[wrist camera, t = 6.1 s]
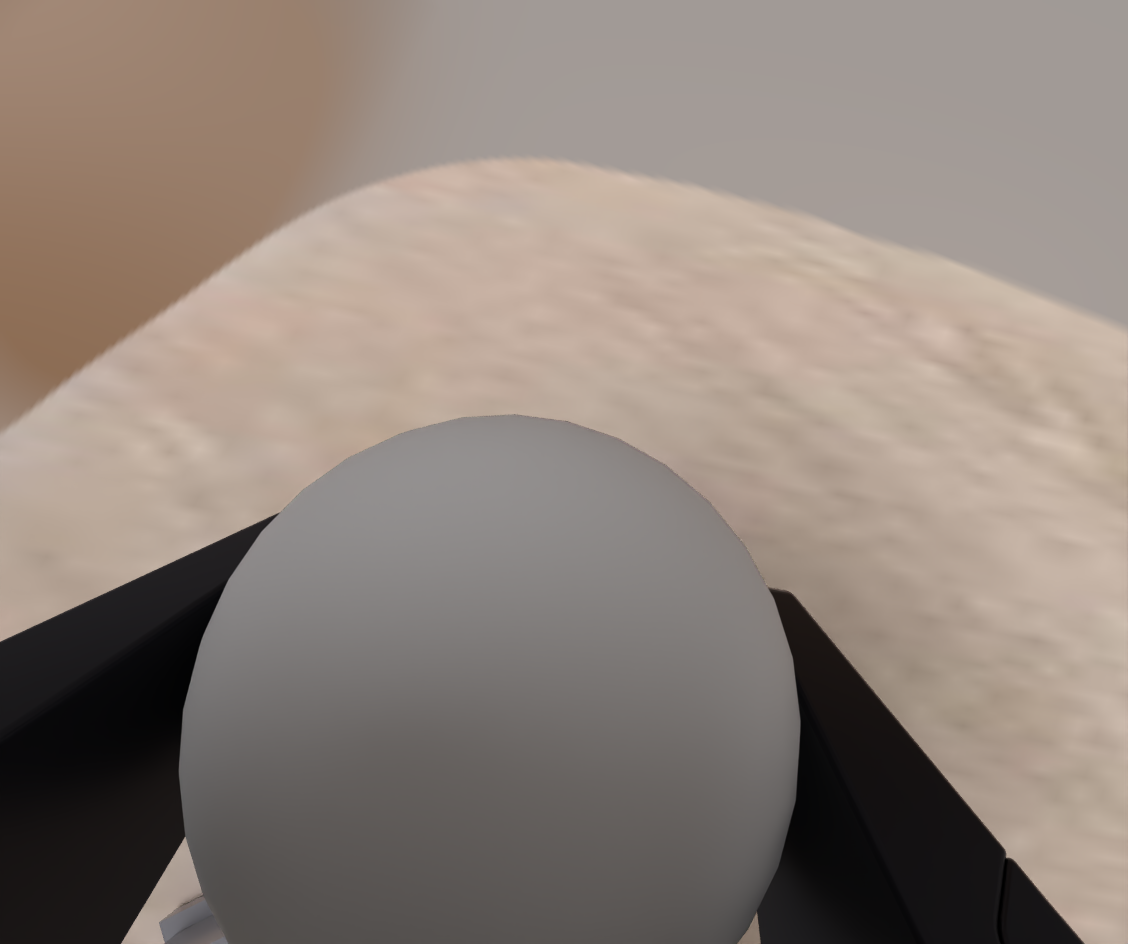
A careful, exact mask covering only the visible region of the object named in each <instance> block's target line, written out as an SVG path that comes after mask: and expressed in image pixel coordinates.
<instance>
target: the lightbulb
mask: <svg viewBox="0 0 1128 944" xmlns="http://www.w3.org/2000/svg"><path fill="white" fill-rule="evenodd" d="M799 742H800V713H799V705H798V696H797V688H796V680H795V672H794V664H793V657H792V654H791V651H790V648H789V645H788V641H787V638H786V635H785V632H784V629H783V626H782V623H781V619H780V616H779V613H778V610H777V607H776V604H775V600H774V598H773V596H772V594H771V593H770V591H769V589H768V587H767V585H766V583H765V581H764V580H763V578H762V576H761V574H760V572H759V570H758V568H757V567H756V565H755V563H754V561H753V559H752V557H751V555H750V554H749V552H748V550H747V548H746V546H745V545H744V544H743V543H742V541H741V540H740V539H739V538H738V536H737V535H736V534H735V533H734V532H733V530H732V529H731V528H730V527H729V525H728V524H727V523H726V522H725V520H724V519H723V518H722V517H721V515H720V514H719V513H718V512H717V510H716V509H715V508H714V507H713V506H712V504H711V503H710V502H709V501H708V500H707V499H706V498H704V497H703V496H702V495H701V494H700V493H698V492H697V491H696V490H695V489H694V488H693V487H691V486H690V485H689V484H688V483H687V482H685V481H684V480H683V479H682V478H681V477H680V476H678V475H677V474H676V473H675V472H674V471H672V470H671V469H670V468H669V467H668V466H667V465H665V464H663V463H661V462H660V461H658V460H656V459H654V458H652V457H651V456H649V455H647V454H645V453H644V452H642V451H640V450H638V449H636V448H635V447H633V446H631V445H629V444H628V443H626V442H624V441H622V440H620V439H619V438H616V437H613V436H610V435H607V434H604V433H601V432H598V431H595V430H592V429H589V428H586V427H583V426H580V425H577V424H574V423H571V422H568V421H561V420H553V419H545V418H538V417H530V416H522V415H515V414H514V415H497V416H480V417H463V418H458V419H454V420H450V421H446V422H442V423H438V424H434V425H430V426H426V427H422V428H418V429H414V430H410V431H407V432H404V433H401V434H398V435H396V436H394V437H392V438H390V439H388V440H385V441H383V442H381V443H379V444H377V445H375V446H372V447H370V448H368V449H366V450H364V451H362V452H359V453H357V454H355V455H353V456H351V457H349V458H347V459H346V460H344V461H343V462H342V463H340V464H339V465H337V466H336V467H334V468H333V469H332V470H330V471H329V472H327V473H326V474H325V475H323V476H322V477H320V478H319V479H317V480H316V481H315V482H313V483H312V484H310V485H309V486H308V487H306V488H305V489H303V490H302V491H301V492H300V493H299V494H298V495H297V496H296V497H295V498H294V499H293V500H292V501H291V502H290V503H289V504H288V505H287V506H286V507H285V508H284V509H283V510H282V511H281V512H280V513H279V514H278V515H277V516H276V517H275V518H274V520H273V521H272V522H271V523H270V524H269V525H268V526H267V527H266V528H265V529H264V530H263V531H262V532H261V533H260V535H259V536H258V538H257V539H256V541H255V542H254V543H253V545H252V546H251V548H250V549H249V551H248V552H247V554H246V555H245V557H244V558H243V560H242V561H241V562H240V564H239V565H238V567H237V568H236V570H235V571H234V573H233V574H232V576H231V577H230V578H229V580H228V582H227V584H226V586H225V588H224V591H223V593H222V595H221V597H220V599H219V602H218V604H217V606H216V608H215V610H214V613H213V615H212V617H211V619H210V622H209V624H208V626H207V628H206V630H205V633H204V635H203V637H202V641H201V644H200V647H199V650H198V654H197V658H196V662H195V666H194V670H193V674H192V678H191V681H190V685H189V689H188V693H187V697H186V701H185V705H184V709H183V720H182V733H181V747H180V760H179V781H180V790H181V799H182V809H183V818H184V828H185V836H186V839H187V843H188V846H189V849H190V853H191V856H192V859H193V863H194V866H195V869H196V873H197V876H198V879H199V883H200V886H201V889H202V893H203V896H204V898H205V900H206V902H207V904H208V906H209V908H210V910H211V912H212V914H213V915H214V917H215V919H216V921H217V923H218V925H219V927H220V929H221V931H222V932H223V934H224V936H225V938H226V940H227V942H228V944H737V943H738V942H739V940H740V939H741V938H742V936H743V935H744V934H745V932H746V931H747V930H748V928H749V926H750V924H751V922H752V920H753V918H754V916H755V914H756V912H757V910H758V908H759V906H760V904H761V901H762V899H763V897H764V895H765V893H766V891H767V889H768V887H769V885H770V883H771V881H772V879H773V877H774V875H775V873H776V871H777V868H778V866H779V862H780V859H781V855H782V851H783V847H784V843H785V839H786V836H787V832H788V828H789V824H790V820H791V816H792V813H793V809H794V805H795V801H796V788H797V773H798V758H799Z"/></svg>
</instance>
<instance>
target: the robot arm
mask: <svg viewBox="0 0 1128 944" xmlns="http://www.w3.org/2000/svg"><path fill="white" fill-rule="evenodd" d="M278 514H279V513H278ZM278 514H275V515H273V516H271V517H269V518H267V519H265V520H262V521H260V522H258V523H256V524H254V525H252V526H249V527H247V528H245V529H243V530H241V531H239V532H236V533H234V534H232V535H230V536H228V537H226V538H224V539H221V540H219V541H217V542H215V543H213V544H211V545H208V546H206V547H204V548H202V549H200V550H198V551H195V552H193V553H191V554H189V555H187V556H185V557H183V558H180V559H178V560H176V561H174V562H172V563H170V564H167V565H165V566H163V567H161V568H159V569H157V570H154V571H152V572H150V573H148V574H146V575H144V576H141V577H139V578H137V579H135V580H133V581H131V582H129V583H126V584H124V585H122V586H120V587H118V588H116V589H113V590H111V591H109V592H107V593H105V594H103V595H100V596H98V597H96V598H94V599H92V600H90V601H87V602H85V603H83V604H81V605H79V606H77V607H74V608H72V609H70V610H68V611H66V612H64V613H61V614H59V615H57V616H55V617H53V618H51V619H48V620H46V621H44V622H42V623H40V624H38V625H36V626H33V627H31V628H29V629H27V630H25V631H23V632H20V633H18V634H16V635H14V636H12V637H10V638H7V639H5V640H3V641H1V642H0V944H121V943H122V941H123V939H124V938H125V936H126V934H127V933H128V931H129V929H130V928H131V926H132V924H133V923H134V921H135V919H136V918H137V916H138V914H139V913H140V911H141V909H142V908H143V906H144V904H145V903H146V901H147V899H148V898H149V896H150V894H151V893H152V891H153V889H154V888H155V886H156V884H157V883H158V881H159V879H160V878H161V876H162V874H163V873H164V871H165V869H166V868H167V866H168V864H169V863H170V861H171V859H172V858H173V856H174V854H175V853H176V851H177V849H178V848H179V846H180V844H181V843H182V841H183V839H184V838H185V828H184V818H183V809H182V799H181V790H180V781H179V760H180V747H181V733H182V720H183V709H184V705H185V701H186V697H187V693H188V689H189V685H190V681H191V678H192V674H193V670H194V666H195V662H196V658H197V654H198V650H199V647H200V644H201V641H202V637H203V635H204V633H205V630H206V628H207V626H208V624H209V622H210V619H211V617H212V615H213V613H214V610H215V608H216V606H217V604H218V602H219V599H220V597H221V595H222V593H223V591H224V588H225V586H226V584H227V582H228V580H229V578H230V577H231V576H232V574H233V573H234V571H235V570H236V568H237V567H238V565H239V564H240V562H241V561H242V560H243V558H244V557H245V555H246V554H247V552H248V551H249V549H250V548H251V546H252V545H253V543H254V542H255V541H256V539H257V538H258V536H259V535H260V533H261V532H262V531H263V530H264V529H265V528H266V527H267V526H268V525H269V524H270V523H271V522H272V521H273V520H274V518H275V517H276V516H277V515H278ZM768 589H769V591H770V593H771V594H772V596H773V598H774V600H775V604H776V607H777V610H778V613H779V616H780V619H781V623H782V626H783V629H784V632H785V635H786V638H787V641H788V645H789V648H790V651H791V654H792V657H793V664H794V672H795V680H796V688H797V696H798V705H799V713H800V742H799V758H798V773H797V788H796V801H795V805H794V809H793V813H792V816H791V820H790V824H789V828H788V832H787V836H786V839H785V843H784V847H783V851H782V855H781V859H780V862H779V866H778V868H777V871H776V873H775V875H774V877H773V879H772V881H771V883H770V885H769V887H768V889H767V891H766V893H765V895H764V897H763V899H762V901H761V904H760V906H759V908H758V910H757V914H758V923H759V931H760V940H761V944H1084V942H1083V941H1082V940H1081V939H1080V938H1079V937H1078V935H1077V934H1076V933H1075V932H1074V931H1073V930H1072V928H1071V927H1070V926H1069V925H1068V924H1067V923H1066V921H1065V920H1064V919H1063V918H1062V917H1061V916H1060V914H1059V913H1058V912H1057V911H1056V910H1055V909H1054V907H1053V906H1052V905H1051V904H1050V903H1049V902H1048V900H1047V899H1046V898H1045V897H1044V896H1043V894H1042V893H1041V892H1040V891H1039V890H1038V888H1037V887H1036V886H1035V885H1034V884H1033V882H1032V881H1031V880H1030V879H1029V878H1028V876H1027V875H1026V874H1025V873H1024V871H1023V870H1022V869H1021V868H1020V867H1019V865H1018V864H1017V863H1016V862H1015V861H1014V860H1013V859H1011V858H1006V851H1005V849H1004V848H1003V847H1002V845H1001V844H1000V843H999V842H998V841H997V839H996V838H995V837H994V836H993V835H992V833H991V832H990V831H989V830H988V829H987V827H986V826H985V825H984V824H983V822H982V821H981V820H980V819H979V818H978V816H977V815H976V814H975V813H974V812H973V810H972V809H971V808H970V807H969V806H968V804H967V803H966V802H965V801H964V800H963V798H962V797H961V796H960V795H959V794H958V792H957V791H956V790H955V789H954V788H953V786H952V785H951V784H950V783H949V782H948V780H947V779H946V778H945V777H944V775H943V774H942V773H941V772H940V771H939V769H938V768H937V767H936V766H935V765H934V763H933V762H932V761H931V760H930V759H929V757H928V756H927V755H926V754H925V753H924V751H923V750H922V749H921V748H920V747H919V745H918V744H917V743H916V742H915V741H914V739H913V738H912V737H911V736H910V734H909V733H908V732H907V731H906V730H905V728H904V727H903V726H902V725H901V724H900V722H899V721H898V720H897V719H896V718H895V716H894V715H893V714H892V713H891V712H890V710H889V709H888V708H887V707H886V706H885V704H884V703H883V702H882V701H881V700H880V698H879V697H878V696H877V695H876V694H875V692H874V691H873V690H872V689H871V687H870V686H869V685H868V684H867V683H866V681H865V680H864V679H863V678H862V677H861V675H860V674H859V673H858V672H857V671H856V669H855V668H854V667H853V666H852V665H851V663H850V662H849V661H848V660H847V659H846V657H845V656H844V655H843V654H842V653H841V651H840V650H839V649H838V648H837V646H836V645H835V644H834V643H833V642H832V640H831V639H830V638H829V637H828V636H827V634H826V633H825V632H824V631H823V630H822V628H821V627H820V626H819V625H818V624H817V622H816V621H815V620H814V619H813V618H812V616H811V615H810V614H809V613H808V612H807V610H806V609H805V608H804V607H803V606H802V604H801V603H800V602H799V601H798V599H797V598H796V597H795V596H794V595H793V594H792V593H790V592H788V591H785V590H780V589H774V588H768Z"/></svg>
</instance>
